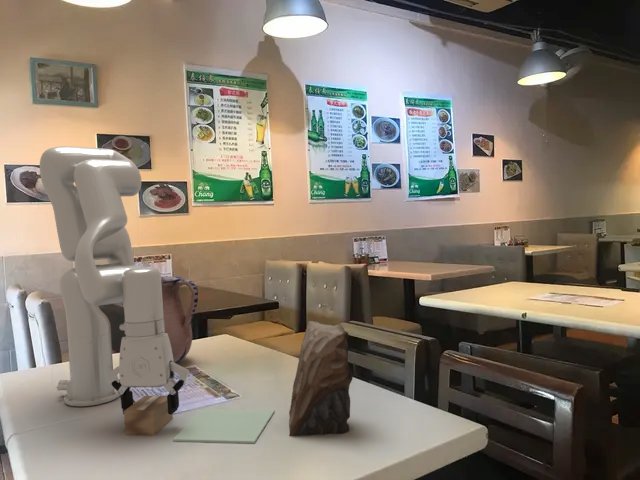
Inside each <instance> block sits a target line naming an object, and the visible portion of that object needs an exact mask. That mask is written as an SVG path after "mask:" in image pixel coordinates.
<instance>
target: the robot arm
mask: <svg viewBox="0 0 640 480" xmlns="http://www.w3.org/2000/svg"><path fill="white" fill-rule="evenodd" d="M39 175H40V179H41V184H42V186H43V189H44V191H45V193H46V195H47V197H48V199H49V201H50V203H51V206H52V210H53V215H54V220H55V225H56V226H55V227H56V232H57V239H58V245H59V247H60V253H61V254H62V256H63V258H64V259H65V260H66V261H68V262H74V267H73V268H70V269H68V270H66V271H65V272H63V274H62V275H61V277H60V279H59V288H60V289H59V290H60V294H61V298H62V299H61V300H62V302H63V306H64V312H65V319H66V331H67V343H68V344H67V345H68V346H67V347H68V359H69V360H68V363H69V365H68V366H69V376H70V377H69V378H70V379H69V380H68V379H60V380H59V381H58V384H57V386H56V390H57V391H66V394H65V395H64V398H63V399H64V404H66V405H67V406H70V407H71V406H72V407H91V406H97V405H103V404H105V403H108V402H111V401H114V400H117V399H118V398H119V397H120V404H121V405H120V407H121V409H122V415H124V411H125V410H126V409H127V408H129V407H130V406H131V405H133V404H134V396H133V391H132V390H131V388H160V387H163V388H164V389H165V390H166V391H167V392H168V394H167V395H166V396H167V403H168V414H172V415H174V413H176V412H177V411H178V409H179V408H180V400H179V399H180V398H179V391H180V390H181V389H182V387H183V386H184V385H185V384H186V383H187V380H188V378H189V375H190V373H191V372H190V370H189V369H187V368H186V367H184V366H181V365H180V364H179V363H178V364H176V363H174V361H173V354H172V348H171V344H170V340H169V337H168V334H167V333H165V330H164V315H163V300H162V285H161V277H162V276H161V275H162V273H161V272H160V270H159V269H158V268H157V267H153V266H151V267H150V266H148V267H146V266H143V265H140V264H139V265H138V264H136V263H135V258H134V253H133V247H132V242H131V238H130V235H129V232H128V230H127V229H126V225H127V224H128V216H127V213H126V209H125V207H124V203H123V199H122V197H134V196H136V195H138V194H139V192H140V190H141V187H142V176H141V173H140V170H139V168H138V166H137V165H136V164H135V163H134V162H133V161H132V160H131V159H130V158H128V157H126V156H125V155H123V154H121V153H119V152H118V151H116V150H114V149H111V148H102V147H85V146H84V147H83V146H71V145H69V146H67V145H65V146H63V145H62V146H55V147H51V148H48V149H46V150H44V152H43V153H41V156H40V159H39ZM102 260H104V261H105V260H107V262H108V263H106V264H104V263H103V264H96V263H95V261H102ZM118 303H123V312H124V321H123V323H120V324H119V330H120V331H124V335H125V336H122V337H121V339H120V340H121V341H120V348H119V349H120V350H119V359H118V360H119V361H118V362H119V365H118V366H116V367H115V368H114V362H113V361H114V360H113V345H112V344H113V343H112V328H111V327H112V326H111V322H110V320H109V317H108V316H107V315H106V314H105V313H104V312H103V311H102V309H100V307H99V306H104V305H112V304H118ZM175 373H176V374H177V375H179V379H178V380H177V381H176V380H175V379H174V378H175V376H176V375H175Z"/></svg>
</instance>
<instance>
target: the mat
mask: <svg viewBox="0 0 640 480" xmlns="http://www.w3.org/2000/svg"><path fill="white" fill-rule="evenodd" d="M274 414H275V410H273V409H271V410H270V409H230V408H229V409H226V408H225V409H224V408H223V409H222V408H221V409H218V408H215V409H214V408H203V409H202V410H200V412H198V413H197V414H196V415H195V416H194V417H193V418H192V419H191V421H190V422H188V423H187V424H186V425H185V426H184V427H183V428H182V429H181V431H179V432H178V433H177V434H176V436H175V437H173V438H172V442H181V443H182V442H183V443H184V442H187V443H190V442H191V443H217V444H218V443H219V444H220V443H221V444H222V443H223V444H225V443H227V444H229V443H230V444H256V442H257V440H259V438H260V436H261V435H262V433H263V431H264V429H265V428H266V427H267V425H268V423H269V422H270V420H271V419H272V417H273V416H274Z"/></svg>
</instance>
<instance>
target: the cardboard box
mask: <svg viewBox="0 0 640 480" xmlns="http://www.w3.org/2000/svg"><path fill="white" fill-rule="evenodd" d="M173 415H174V414H168V403H167V395H144V396H143V397H140V399H138V400H137V401H135V402H133V405H131V406H130V407H129V408H127V409H126V410H125V411H124V414H123V418H124V419H123V420H124V421H123V422H124V435H125V436H147V437H148V436H150V437H151V436H156V434H157V433H158V432H160V431H161V430H162V429H163V428H165V426H167V424H168V423H170V421H172V420H173V419H174V418H173Z"/></svg>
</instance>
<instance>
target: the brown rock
mask: <svg viewBox="0 0 640 480" xmlns="http://www.w3.org/2000/svg"><path fill="white" fill-rule="evenodd" d="M348 338H349V333H348V332H347V330H345V328H344V327H343V325H341V324H335V325H332V324H325V323H320V322H318V321H314V320H308V321H307V324H306V329H305V333H304V336H303V339H302V342H301V346H300V352H299V356H298V357H299V358H298V363H297V366H296V367H297V368H296V373H295V378H294V380H293V385H292V394H291V401H290V408H289V410H288V411H289V414H288V415H289V419H288V420H289V422H288V429H289V433H288V435H289V437H295V436H296V437H299V436H314V435H315V436H317V435H318V436H320V435H321V436H325V435H341V434H346V433H348V432H350V426H349V423H348V420H349V419H350V418H351V396H350V385H351V383H352V381H353V379H354V378H353V377H354V376H353V373H352V369H351V368H350V367H349V359H348V358H349V356H348V355H349V344H348Z"/></svg>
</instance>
